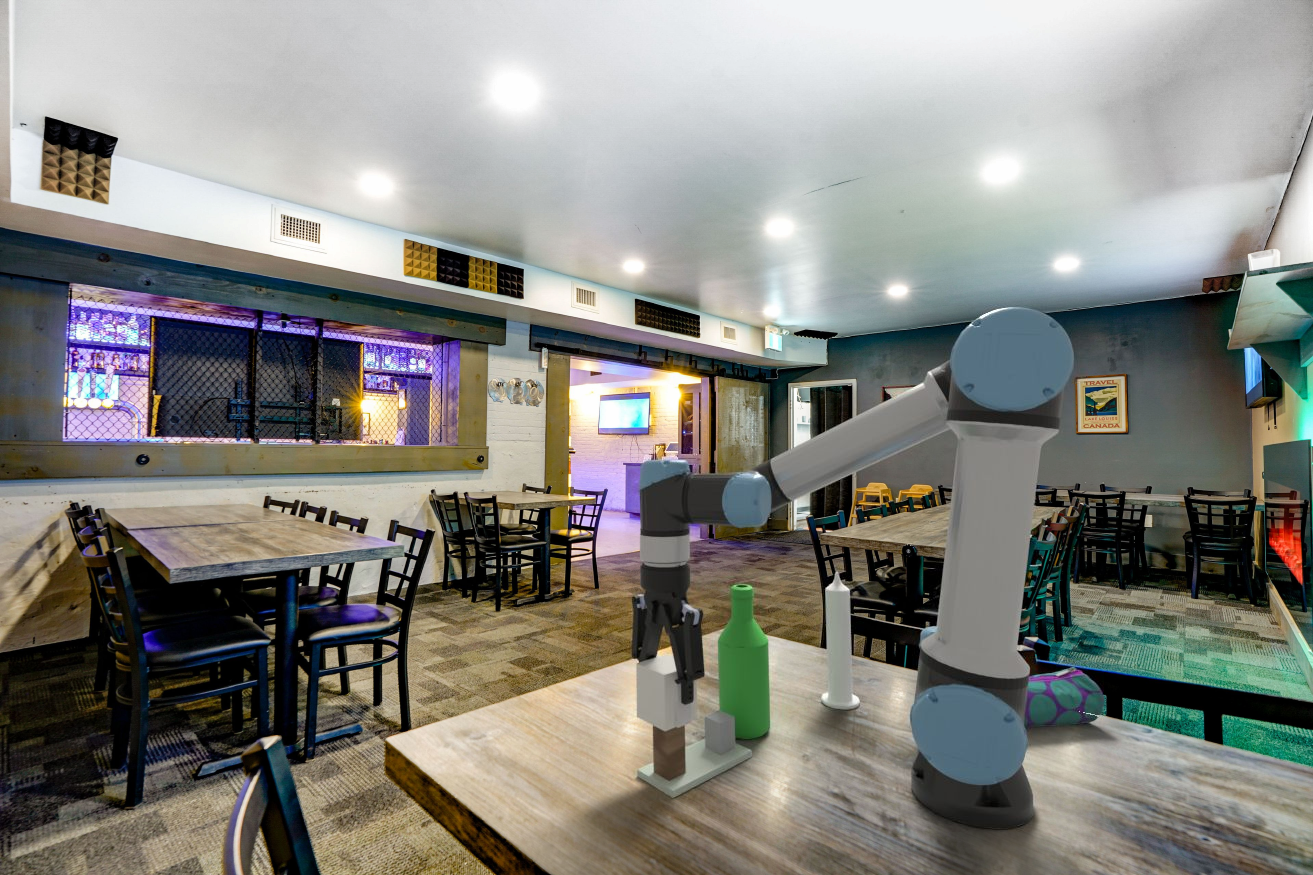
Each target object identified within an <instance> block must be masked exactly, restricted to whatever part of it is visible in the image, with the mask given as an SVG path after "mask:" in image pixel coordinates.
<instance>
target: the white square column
mask: <svg viewBox="0 0 1313 875" xmlns="http://www.w3.org/2000/svg"><path fill="white" fill-rule="evenodd" d="M635 665H636V667H635V668H636V672H635V673H636V677H635V678H636V680H635V681H636V718H638V719H640V720H643V721H644V722H646V723H648V724H650V725H652V727H653V726H655V727H657V728H659V729H661V730H663V731H668V730H670V729H672V728H675V707H674V681H675V680H676V679H678V675H677V671H676V666H675V661H674V657H673V654H670V653H666V654H663V655H659V656H656V658H652V659H649V660H646V661H643V662H639V661H638V662H637V663H635ZM685 672H686V670H685ZM697 680H698V679H697ZM697 680H694V692H693V693H694V700H693V702H692V703H691V711H692V721H694V720H696V719H698V685H697V684H698V682H697Z"/></svg>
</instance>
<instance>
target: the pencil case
mask: <svg viewBox="0 0 1313 875" xmlns="http://www.w3.org/2000/svg"><path fill="white" fill-rule="evenodd" d="M1102 694H1103V691H1102V690H1101V688H1100V687H1099V685H1098V684H1097V683H1096V682H1095V681H1094V680H1092V679H1091V678H1090V676H1089V675H1087V674H1085V673H1083V671H1082V670H1080V669H1078V668H1076V667H1075V666H1072V667H1070V668H1066V669H1062V670H1059V671H1055V672H1051V673H1050V672H1049V673H1047V672H1046V673H1042V674H1035V675H1034V674H1033V675H1031V676H1030V675H1029V683H1028V691H1027V700H1026V709H1025V718H1024V727H1025V728H1031V727H1041V726H1042V727H1043V726H1044V727H1045V726H1046V727H1049V726H1050V727H1052V726H1055V727H1056V726H1068V725H1070V726H1072V725H1080V724H1088V723H1091V722H1094V721H1096V720H1097V719H1098V718H1099V717H1097V716H1095V715H1101V714H1102V712H1103V710H1104V706H1105V699H1104V698H1105V697H1104V694H1103V695H1102ZM1079 711H1080V712H1079ZM1083 712H1085V713H1083ZM1086 713H1091V714H1095V715H1090V714H1086Z"/></svg>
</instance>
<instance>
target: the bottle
mask: <svg viewBox="0 0 1313 875" xmlns="http://www.w3.org/2000/svg"><path fill="white" fill-rule="evenodd" d="M729 596H730V601H731V602H730V608H731V618H730V620H729V621H728V623H727V624H726V626H725V628H724V629H723V630H722V632H721V633H720V635H719V636H718V639H717V662H718V665H717V666H718V668H717V669H718V702H719V703H718V705H719V709H718V711H719V710H720V711H722V712H724V713H727V714H729V715H732V716H734V717H735V739H736V738H737V739H742V740H753V739H757V738H759V737H762V736H763V735H765V734H766V733H767V732H768V731H769V730H770V729H771V707H770V706H771V705H770V704H771V701H770V700H771V699H770V698H771V695H770V657H769V656H770V655H769V639H768V637H767V635H766V634H765V633H764V631H763V629H761V627H760V625H759V624H758V623H757V621H756V620H755V617H754V597H755V592H754V588H753V586H751V585H749V584H743V583H742V584H735V585H732V586H731V587H730V593H729Z"/></svg>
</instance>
